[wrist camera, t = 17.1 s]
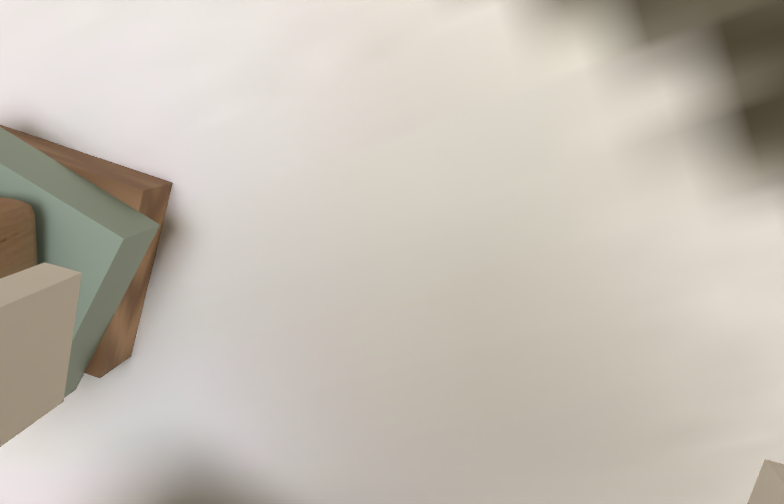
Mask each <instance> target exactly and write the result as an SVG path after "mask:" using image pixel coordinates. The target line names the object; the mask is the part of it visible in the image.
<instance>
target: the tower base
mask: <svg viewBox="0 0 784 504" xmlns="http://www.w3.org/2000/svg"><path fill="white" fill-rule="evenodd" d="M0 127H1V128H3V129H5V130H6V131H8V132H9V133H11V134H13V135H14V136H16V137H18V138H19V139H21V140H23V141H24V142H26V143H27V144H29V145H31V146H32V147H34V148H36V149H37V150H39V151H41V152H42V153H44V154H45V155H47V156H49V157H50V158H52V159H54V160H55V161H57V162H59V163H60V164H62V165H63V166H65V167H67V168H68V169H70V170H72V171H73V172H75V173H77V174H78V175H80V176H81V177H83V178H85V179H86V180H88V181H90V182H91V183H93V184H94V185H96V186H98V187H99V188H101V189H103V190H104V191H106V192H108V193H109V194H111V195H112V196H114V197H116V198H117V199H119V200H121V201H122V202H124V203H125V204H127V205H129V206H130V207H132V208H134V209H135V210H137V211H139V212H140V213H142V214H144V215H145V216H147V217H149V218H150V219H152V220H153V221H155V222H157V223H158V224H160V226H159V228H158V230H157V232H156V234H155V236H154V238H153V240H152V242H151V244H150V246H149V248H148V250H147V252H146V254H145V256H144V258H143V260H142V261H141V263H140V265H139V267H138V269H137V271H136V273H135V275H134V277H133V279H132V281H131V283H130V285H129V287H128V289H127V291H126V293H125V294H124V296H123V298H122V300H121V302H120V304H119V306H118V308H117V310H116V312H115V314H114V316H113V318H112V319H111V321H110V323H109V325H108V327H107V329H106V331H105V333H104V335H103V337H102V339H101V341H100V343H99V345H98V347H97V349H96V351H95V352H94V354H93V356H92V358H91V360H90V362H89V364H88V366H87V368H86V370H85V372H84V373H87V374H90V375H93V376H95V377H98V378H101V377H103V376H104V375H105V374H107V373H108V372H109V371H111V370H112V369H114V368H115V367H116V366H118V365H119V364H121V363H122V362H123V361H125V360H126V359H128V358H129V357H130V356H131V354H132V350H133V345H134V341H135V337H136V333H137V329H138V325H139V320H140V316H141V312H142V308H143V304H144V299H145V295H146V291H147V287H148V283H149V279H150V274H151V270H152V266H153V262H154V258H155V254H156V249H157V245H158V241H159V237H160V233H161V229H162V224H163V220H164V216H165V212H166V208H167V204H168V199H169V195H170V191H171V187H172V182H169V181H166V180H163V179H160V178H157V177H154V176H151V175H148V174H145V173H142V172H139V171H136V170H133V169H130V168H127V167H124V166H121V165H118V164H115V163H112V162H109V161H106V160H103V159H100V158H97V157H94V156H91V155H88V154H85V153H82V152H79V151H76V150H73V149H70V148H67V147H64V146H61V145H58V144H55V143H53V142H50V141H47V140H44V139H41V138H38V137H35V136H32V135H29V134H26V133H23V132H20V131H17V130H14V129H11V128H8V127H5V126H2V125H0Z"/></svg>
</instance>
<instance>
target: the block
mask: <svg viewBox="0 0 784 504" xmlns="http://www.w3.org/2000/svg"><path fill="white" fill-rule="evenodd" d="M36 265H38V260H37V242H36V225H35V214H34V211H33V209H32V207H31V205H29V204H27V203H25V202H23V201H20V200H17V199H12V198H3V197H0V279H1V278H3V277H6V276H9V275H12V274H14V273H17V272H20V271H23V270H25V269H28V268H31V267H34V266H36Z"/></svg>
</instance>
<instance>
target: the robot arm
mask: <svg viewBox="0 0 784 504" xmlns="http://www.w3.org/2000/svg"><path fill="white" fill-rule="evenodd" d="M81 276H82V272H78V271H75V270H71V269H67V268H64V267H60V266H56V265H53V264H49V263H45V262H44V263H42V264H39V265H36V266H34V267H31V268H28V269H25V270H23V271H20V272H17V273H14V274H12V275H9V276H6V277H3V278H1V279H0V447H1V446H2V445H3V444H5V443H6V442H8V441H9V440H10V439H12V438H13V437H15V436H16V435H17V434H19V433H20V432H22V431H23V430H24V429H26V428H27V427H28V426H30V425H31V424H33V423H34V422H35V421H37V420H38V419H40V418H41V417H42V416H44V415H45V414H47V413H48V412H49V411H51V410H52V409H54V408H55V407H56V406H58V405H59V404H61V403H62V402H63V401H64V394H65V387H66V380H67V373H68V366H69V359H70V352H71V345H72V339H73V332H74V325H75V318H76V311H77V304H78V297H79V290H80V283H81ZM747 504H784V464H780V463H776V462H773V461H769V460H766V459H765V461H764V463H763V466H762V468H761V471H760V473H759V476H758V478H757V481H756V483H755V486H754V488H753V491H752V493H751V496H750V498H749V501H748V503H747Z"/></svg>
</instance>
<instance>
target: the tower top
mask: <svg viewBox="0 0 784 504" xmlns="http://www.w3.org/2000/svg"><path fill="white" fill-rule="evenodd" d="M0 197H3V198H12V199H17V200H20V201H23V202H25V203H27V204H29V205H31V207H32V209H33V211H34V214H35V225H36V242H37V260H38V265H39V264H42V263H44V262H45V263H49V264H53V265H56V266H60V267H64V268H67V269H71V270H75V271H78V272H82V276H81V283H80V290H79V297H78V304H77V311H76V318H75V325H74V332H73V339H72V345H71V352H70V359H69V366H68V373H67V380H66V387H65V394H64V397H66V396H67V395H69V394H70V393H71V392H73V391H74V390H76V388H77V386H78V384H79V382H80V380H81V378H82V376H83V374H84V372H85V370H86V368H87V366H88V364H89V362H90V360H91V358H92V356H93V354H94V352H95V351H96V349H97V347H98V345H99V343H100V341H101V339H102V337H103V335H104V333H105V331H106V329H107V327H108V325H109V323H110V321H111V319H112V318H113V316H114V314H115V312H116V310H117V308H118V306H119V304H120V302H121V300H122V298H123V296H124V294H125V293H126V291H127V289H128V287H129V285H130V283H131V281H132V279H133V277H134V275H135V273H136V271H137V269H138V267H139V265H140V263H141V261H142V260H143V258H144V256H145V254H146V252H147V250H148V248H149V246H150V244H151V242H152V240H153V238H154V236H155V234H156V232H157V230H158V228H159V226H160V224H158V223H157V222H155V221H153V220H152V219H150V218H149V217H147V216H145V215H144V214H142V213H140V212H139V211H137V210H135V209H134V208H132V207H130V206H129V205H127V204H125V203H124V202H122V201H121V200H119V199H117V198H116V197H114V196H112V195H111V194H109V193H108V192H106V191H104V190H103V189H101V188H99V187H98V186H96V185H94V184H93V183H91V182H90V181H88V180H86V179H85V178H83V177H81V176H80V175H78V174H77V173H75V172H73V171H72V170H70V169H68V168H67V167H65V166H63V165H62V164H60V163H59V162H57V161H55V160H54V159H52V158H50V157H49V156H47V155H45V154H44V153H42V152H41V151H39V150H37V149H36V148H34V147H32V146H31V145H29V144H27V143H26V142H24V141H23V140H21V139H19V138H18V137H16V136H14V135H13V134H11V133H9V132H8V131H6V130H5V129H3V128H1V127H0Z"/></svg>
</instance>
